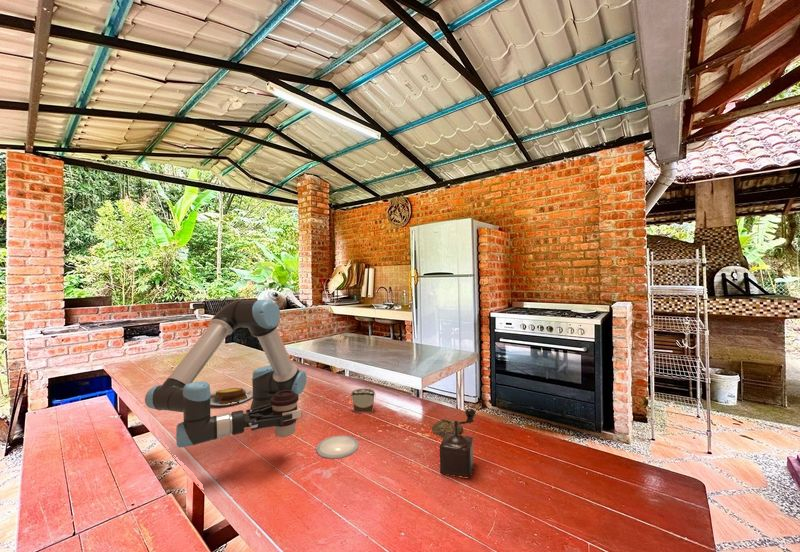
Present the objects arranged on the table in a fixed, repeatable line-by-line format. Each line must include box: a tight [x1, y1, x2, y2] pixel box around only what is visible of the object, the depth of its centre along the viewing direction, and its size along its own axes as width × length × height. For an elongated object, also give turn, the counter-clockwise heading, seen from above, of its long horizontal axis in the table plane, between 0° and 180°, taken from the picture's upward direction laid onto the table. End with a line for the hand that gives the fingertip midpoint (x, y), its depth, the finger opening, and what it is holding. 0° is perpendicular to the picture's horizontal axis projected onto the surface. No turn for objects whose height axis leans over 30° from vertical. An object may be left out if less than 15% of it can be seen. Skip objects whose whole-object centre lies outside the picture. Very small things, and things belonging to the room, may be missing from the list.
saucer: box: [316, 435, 359, 460], centre depth 128 cm, size 16×16×1 cm
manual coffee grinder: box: [439, 408, 477, 478], centre depth 115 cm, size 16×11×18 cm
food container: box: [350, 387, 376, 413], centre depth 164 cm, size 12×6×10 cm, turn 84°
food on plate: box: [210, 386, 253, 406], centre depth 180 cm, size 25×25×7 cm
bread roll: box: [431, 418, 464, 439], centre depth 140 cm, size 13×12×5 cm
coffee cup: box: [270, 390, 300, 438], centre depth 121 cm, size 10×10×15 cm
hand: (297, 408), depth 123 cm, fingers closed on coffee cup, 9 cm apart
